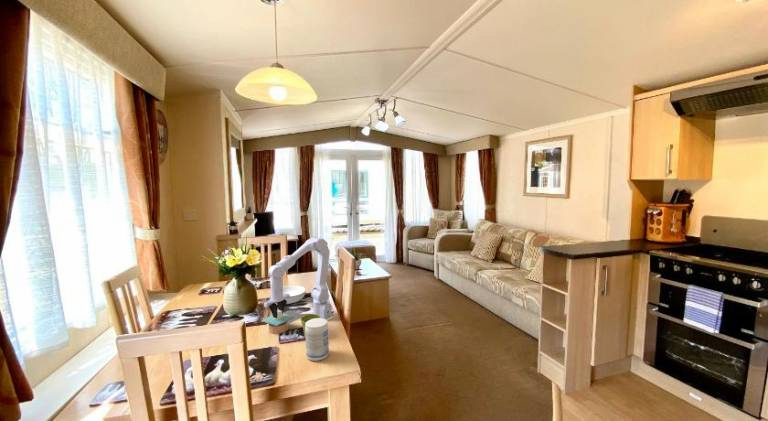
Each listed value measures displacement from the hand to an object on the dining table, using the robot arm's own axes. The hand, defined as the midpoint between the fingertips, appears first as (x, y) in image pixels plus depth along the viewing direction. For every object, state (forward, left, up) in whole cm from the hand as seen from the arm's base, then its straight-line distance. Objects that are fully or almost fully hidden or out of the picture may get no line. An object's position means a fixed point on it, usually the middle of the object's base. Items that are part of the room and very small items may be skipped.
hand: (277, 316), depth 160 cm
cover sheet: (0, 0, -2) cm, 2 cm away
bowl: (0, 0, -7) cm, 7 cm away
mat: (+7, -13, -7) cm, 16 cm away
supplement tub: (-33, +8, -8) cm, 35 cm away
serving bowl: (+25, -30, -8) cm, 40 cm away
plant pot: (-18, -4, -8) cm, 20 cm away
